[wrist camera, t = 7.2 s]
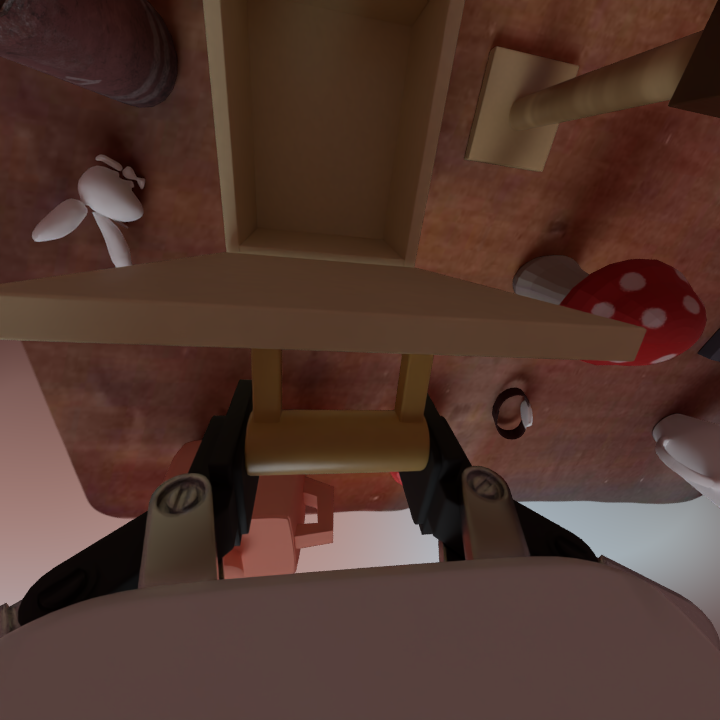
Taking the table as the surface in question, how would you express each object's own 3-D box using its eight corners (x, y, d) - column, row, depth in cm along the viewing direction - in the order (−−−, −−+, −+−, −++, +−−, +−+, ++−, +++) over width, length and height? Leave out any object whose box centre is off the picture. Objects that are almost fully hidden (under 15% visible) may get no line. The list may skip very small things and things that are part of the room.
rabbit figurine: (177, 195, 26) (134, 283, 25) (156, 193, 28) (116, 275, 28) (89, 132, 21) (34, 240, 20) (72, 136, 23) (22, 234, 23)
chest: (235, -23, 20) (189, -138, 13) (421, 18, 22) (477, -61, 15) (249, 234, 28) (226, 257, 20) (388, 247, 30) (413, 271, 23)
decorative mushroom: (489, 321, 36) (588, 404, 23) (501, 240, 31) (633, 287, 18) (573, 310, 36) (715, 385, 23) (596, 230, 32) (786, 269, 19)
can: (196, 106, 23) (72, 33, 11) (104, 110, 23) (-127, 39, 11) (165, -15, 20) (-50, -292, 8) (58, -13, 20) (-338, -306, 8)
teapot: (169, 498, 43) (113, 625, 31) (140, 428, 37) (55, 553, 25) (331, 485, 46) (338, 596, 34) (330, 417, 40) (338, 525, 27)
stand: (463, 159, 27) (616, 144, 14) (490, 50, 24) (730, -119, 10) (535, 171, 28) (743, 168, 15) (571, 69, 25) (883, -59, 11)
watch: (520, 425, 45) (535, 443, 42) (487, 431, 45) (501, 451, 41) (526, 380, 41) (544, 397, 38) (491, 388, 41) (505, 406, 37)
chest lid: (-47, 289, 5) (41, 543, 7) (649, 328, 7) (573, 513, 9) (224, 252, 20) (229, 331, 22) (416, 267, 22) (406, 339, 24)
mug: (709, 403, 48) (818, 466, 37) (675, 446, 52) (765, 513, 42) (642, 404, 46) (737, 471, 36) (613, 449, 50) (690, 519, 40)
